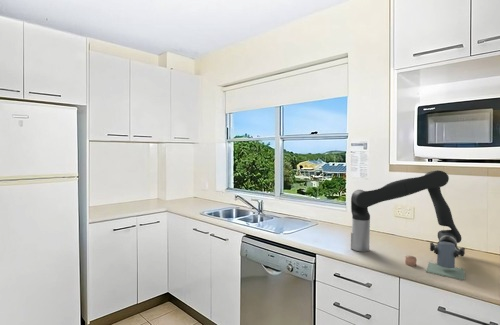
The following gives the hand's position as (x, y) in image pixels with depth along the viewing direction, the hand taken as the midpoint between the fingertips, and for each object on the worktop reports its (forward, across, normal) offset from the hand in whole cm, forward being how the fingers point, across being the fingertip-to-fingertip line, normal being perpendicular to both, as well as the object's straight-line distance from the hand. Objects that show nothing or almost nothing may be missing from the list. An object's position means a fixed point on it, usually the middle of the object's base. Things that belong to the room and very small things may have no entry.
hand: (445, 253), depth 130 cm
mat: (-2, 0, +9) cm, 9 cm away
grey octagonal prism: (-2, 0, +6) cm, 6 cm away
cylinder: (-2, -14, +9) cm, 17 cm away
